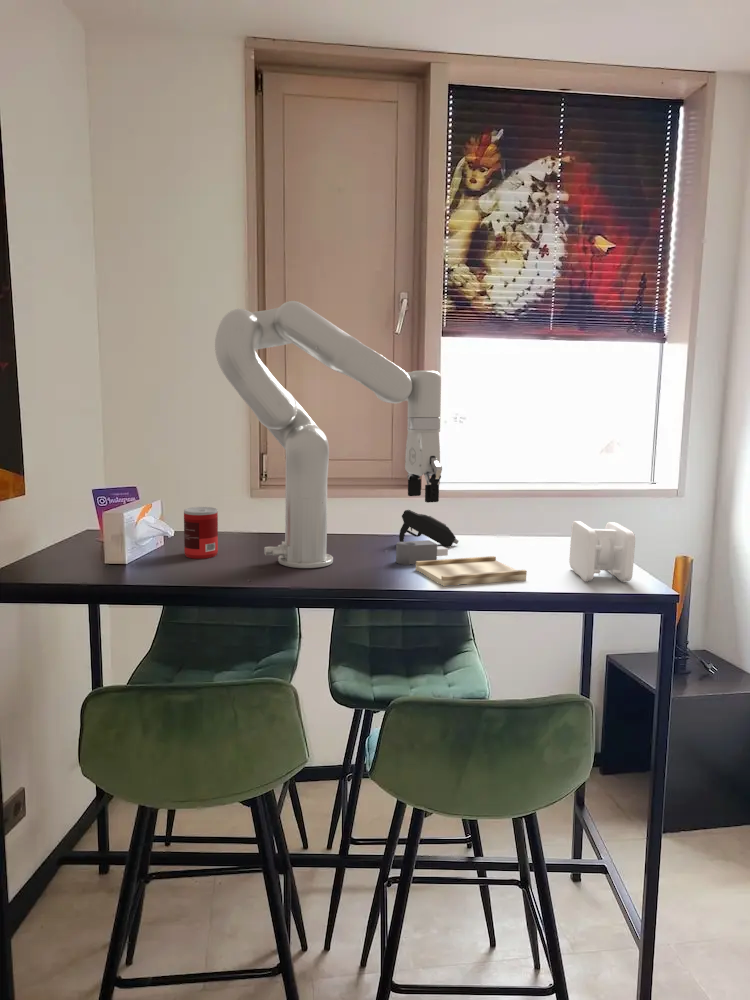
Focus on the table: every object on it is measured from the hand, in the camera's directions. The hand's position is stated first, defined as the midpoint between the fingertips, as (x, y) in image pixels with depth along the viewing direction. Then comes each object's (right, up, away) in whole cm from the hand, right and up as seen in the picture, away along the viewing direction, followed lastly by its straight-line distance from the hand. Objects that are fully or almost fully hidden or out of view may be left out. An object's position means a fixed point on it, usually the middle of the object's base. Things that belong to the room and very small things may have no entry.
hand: (422, 498), depth 165 cm
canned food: (-52, -14, +3) cm, 54 cm away
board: (+10, -17, -8) cm, 21 cm away
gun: (+3, -12, +21) cm, 24 cm away
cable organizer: (+39, -18, -6) cm, 43 cm away
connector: (-1, -15, +2) cm, 15 cm away
